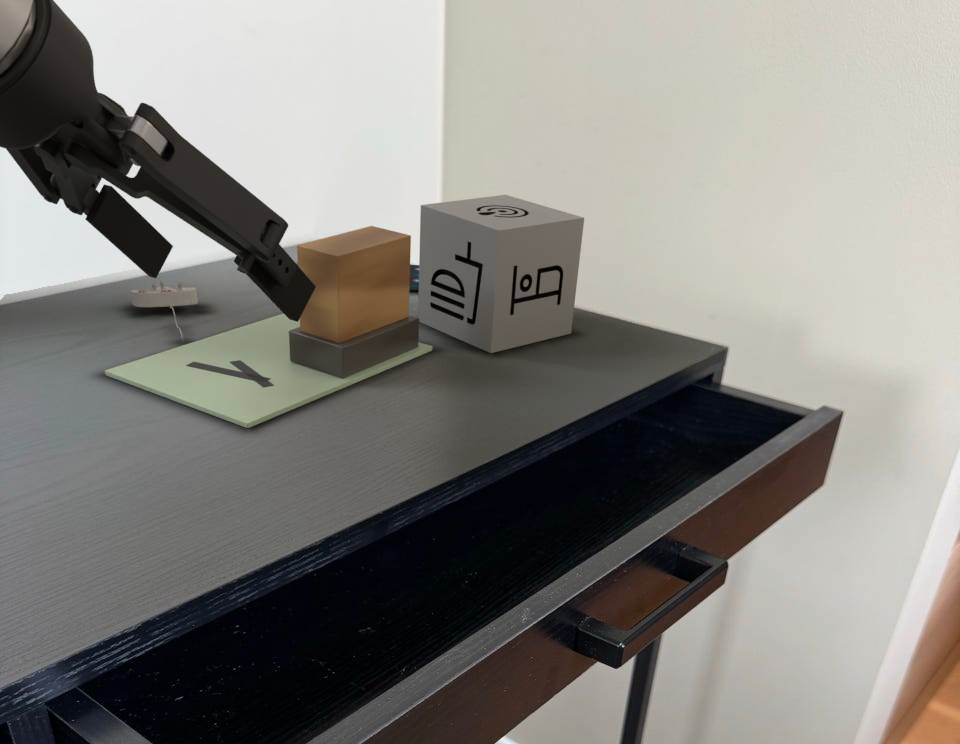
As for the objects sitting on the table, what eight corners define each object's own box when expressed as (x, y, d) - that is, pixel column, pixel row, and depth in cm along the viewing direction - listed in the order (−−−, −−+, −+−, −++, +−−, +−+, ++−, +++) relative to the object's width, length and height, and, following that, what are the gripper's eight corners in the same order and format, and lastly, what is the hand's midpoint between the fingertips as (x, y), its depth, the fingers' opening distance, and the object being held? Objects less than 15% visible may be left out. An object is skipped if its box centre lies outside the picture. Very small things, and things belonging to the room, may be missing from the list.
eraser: (289, 361, 78) (284, 243, 72) (367, 331, 85) (368, 222, 79) (342, 379, 76) (341, 259, 70) (418, 347, 83) (422, 236, 77)
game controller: (183, 296, 91) (180, 267, 89) (243, 333, 84) (241, 302, 83) (124, 305, 88) (120, 275, 86) (182, 343, 81) (178, 312, 79)
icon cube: (490, 353, 83) (499, 230, 78) (418, 321, 89) (420, 205, 84) (571, 333, 89) (584, 217, 83) (497, 304, 95) (505, 194, 89)
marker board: (105, 375, 74) (104, 369, 74) (301, 311, 90) (301, 307, 89) (247, 428, 68) (247, 422, 68) (432, 350, 83) (432, 345, 83)
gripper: (-191, 67, 53) (85, 289, 72) (117, 137, 43) (343, 373, 62) (-125, -48, 54) (131, 202, 73) (194, -7, 43) (395, 272, 63)
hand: (229, 281), depth 68 cm, fingers open, 13 cm apart
